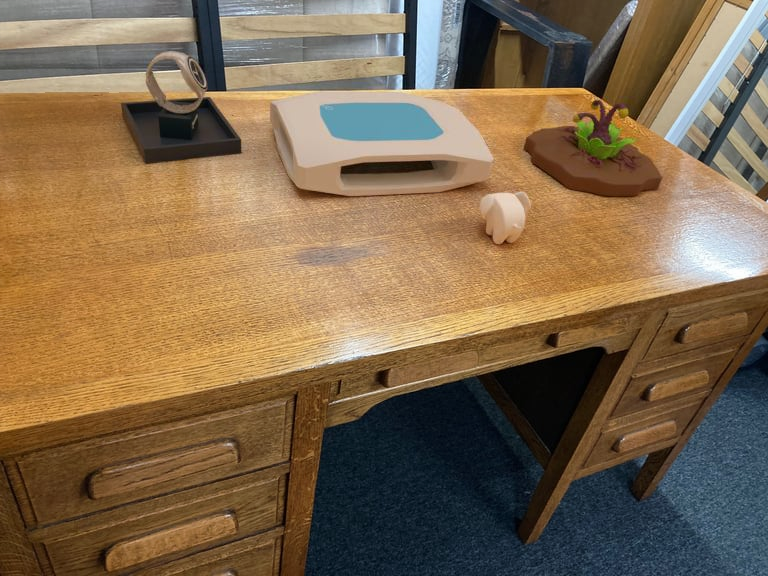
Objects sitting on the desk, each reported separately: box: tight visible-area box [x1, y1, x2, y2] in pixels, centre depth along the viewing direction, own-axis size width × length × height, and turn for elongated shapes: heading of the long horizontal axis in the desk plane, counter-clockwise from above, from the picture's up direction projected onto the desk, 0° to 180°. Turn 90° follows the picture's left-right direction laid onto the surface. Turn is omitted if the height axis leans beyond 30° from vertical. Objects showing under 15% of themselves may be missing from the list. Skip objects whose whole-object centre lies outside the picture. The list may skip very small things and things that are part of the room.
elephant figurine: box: [478, 190, 532, 245], centre depth 79 cm, size 7×8×6 cm
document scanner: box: [269, 90, 495, 197], centre depth 91 cm, size 21×28×6 cm
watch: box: [145, 50, 208, 140], centre depth 87 cm, size 6×8×11 cm
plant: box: [523, 99, 663, 197], centre depth 98 cm, size 20×20×11 cm
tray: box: [120, 96, 242, 164], centre depth 91 cm, size 15×13×2 cm
